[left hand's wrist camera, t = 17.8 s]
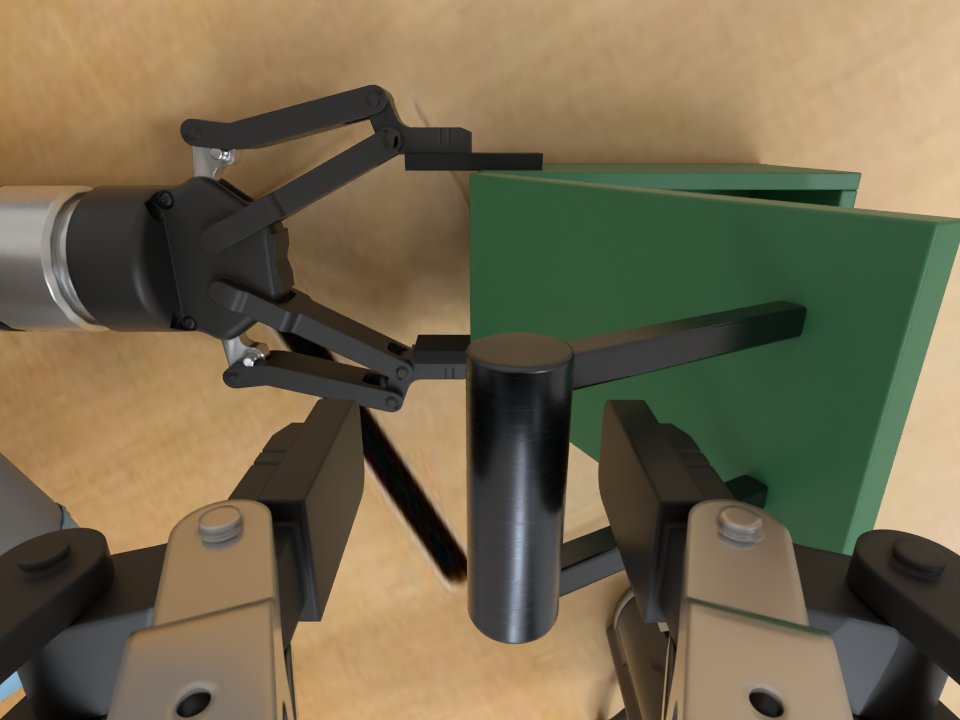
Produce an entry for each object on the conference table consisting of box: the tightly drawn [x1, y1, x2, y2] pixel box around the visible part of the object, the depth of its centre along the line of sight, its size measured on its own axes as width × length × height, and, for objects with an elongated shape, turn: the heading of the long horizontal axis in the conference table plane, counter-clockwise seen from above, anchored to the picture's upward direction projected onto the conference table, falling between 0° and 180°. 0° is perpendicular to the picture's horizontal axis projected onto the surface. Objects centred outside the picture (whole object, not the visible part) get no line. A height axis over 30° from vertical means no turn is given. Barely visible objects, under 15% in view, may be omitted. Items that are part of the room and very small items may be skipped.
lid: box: [466, 173, 960, 644], centre depth 17 cm, size 18×9×9 cm
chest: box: [480, 164, 861, 208], centre depth 31 cm, size 17×9×10 cm, turn 90°
